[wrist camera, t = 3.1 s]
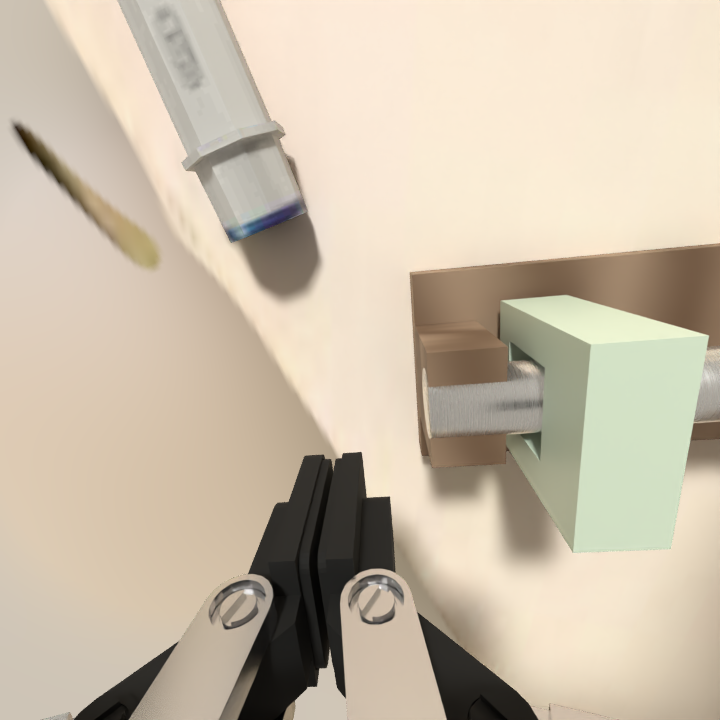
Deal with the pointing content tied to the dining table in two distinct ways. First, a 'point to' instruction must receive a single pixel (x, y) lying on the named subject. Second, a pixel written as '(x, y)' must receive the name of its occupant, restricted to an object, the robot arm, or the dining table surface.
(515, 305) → the sage collar
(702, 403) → the steel pipe
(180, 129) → the grey handheld flashlight
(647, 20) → the dining table surface
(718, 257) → the walnut base
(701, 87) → the dining table surface
